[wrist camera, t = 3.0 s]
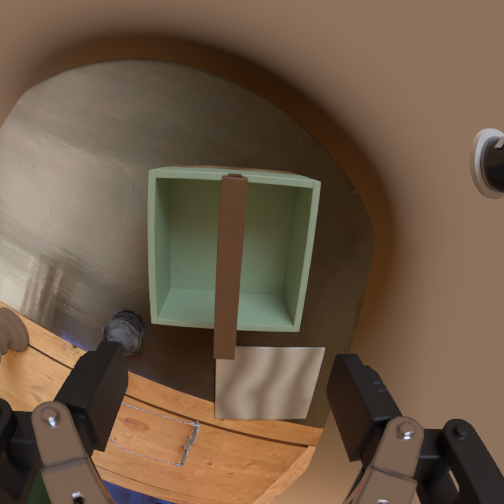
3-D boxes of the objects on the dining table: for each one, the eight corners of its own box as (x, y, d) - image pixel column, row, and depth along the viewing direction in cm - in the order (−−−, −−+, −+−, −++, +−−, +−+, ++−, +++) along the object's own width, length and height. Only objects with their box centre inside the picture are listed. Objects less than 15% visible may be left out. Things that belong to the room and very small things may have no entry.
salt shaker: (155, 326, 41) (133, 381, 30) (133, 348, 42) (109, 402, 31) (123, 299, 40) (91, 348, 28) (103, 323, 41) (70, 372, 29)
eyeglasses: (183, 454, 51) (181, 469, 47) (99, 427, 48) (93, 441, 44) (202, 412, 47) (200, 429, 43) (102, 379, 44) (94, 395, 40)
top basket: (301, 175, 29) (339, 188, 18) (286, 297, 33) (309, 361, 22) (167, 166, 28) (129, 173, 17) (166, 290, 32) (138, 352, 21)
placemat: (324, 346, 44) (325, 348, 43) (305, 416, 49) (305, 418, 48) (216, 344, 42) (216, 346, 42) (215, 416, 47) (215, 418, 47)
